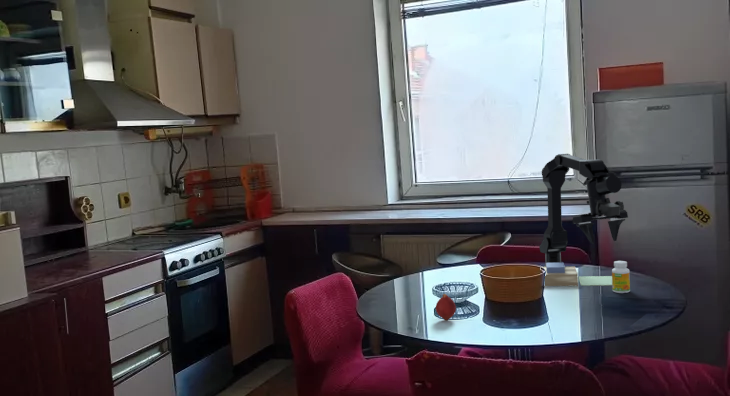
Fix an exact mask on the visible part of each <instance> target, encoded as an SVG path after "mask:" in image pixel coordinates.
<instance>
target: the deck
mask: <svg viewBox="0 0 730 396" xmlns="http://www.w3.org/2000/svg"><path fill="white" fill-rule="evenodd" d="M541 267H542V268H544V269H545V271H546V276H545V286H544V287H578V283H579V282H578V281H579V278H578V272H577V268H576V266H565V273H547V269H546V267H545V266H541Z"/></svg>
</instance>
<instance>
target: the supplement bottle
mask: <svg viewBox="0 0 730 396" xmlns="http://www.w3.org/2000/svg"><path fill="white" fill-rule="evenodd" d="M613 267H614V268H612V269H611V276H612V286H611V287H612V292H614V293H616V294H626V293H629V292H631V280H630V269H629V268H627V267H628V262H627V261H625V260H615V261H613Z"/></svg>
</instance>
